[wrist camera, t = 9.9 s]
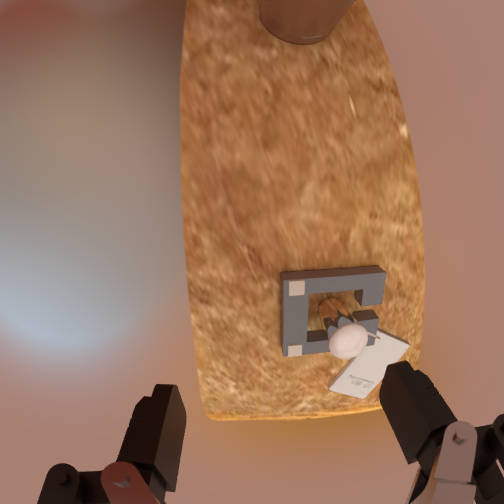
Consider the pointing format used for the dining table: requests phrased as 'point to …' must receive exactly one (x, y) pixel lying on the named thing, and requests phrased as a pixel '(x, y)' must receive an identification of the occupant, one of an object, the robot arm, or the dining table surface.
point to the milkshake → (342, 330)
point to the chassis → (324, 281)
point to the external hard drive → (369, 366)
